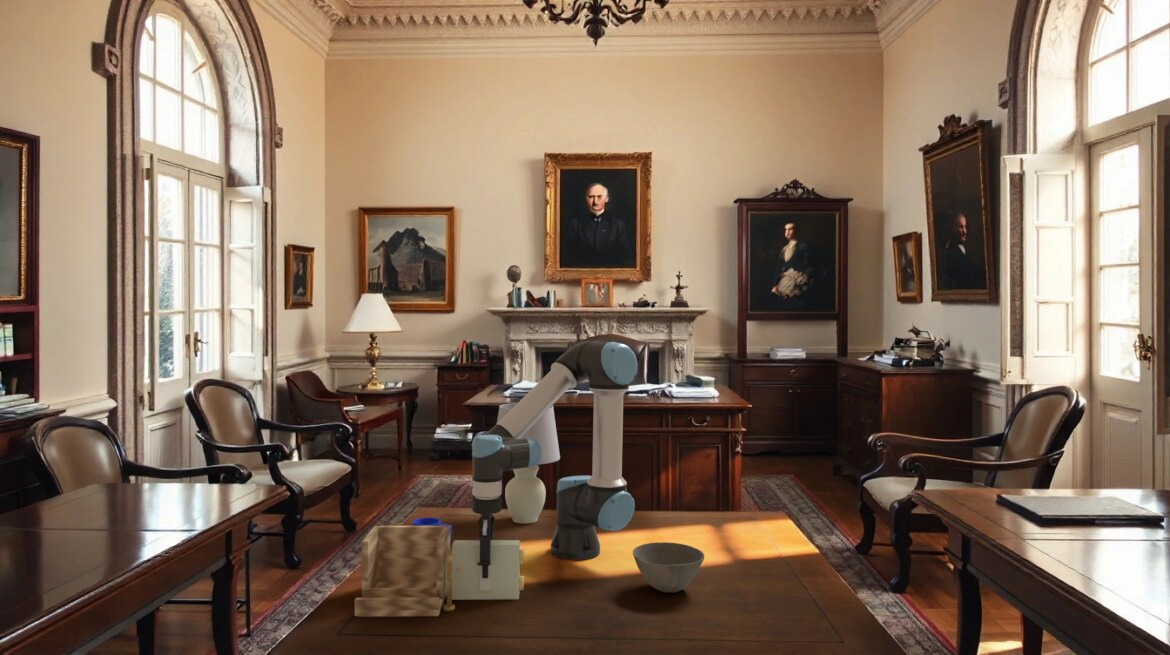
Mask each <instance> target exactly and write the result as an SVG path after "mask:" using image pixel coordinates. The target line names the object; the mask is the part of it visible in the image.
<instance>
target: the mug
mask: <svg viewBox="0 0 1170 655" xmlns="http://www.w3.org/2000/svg"><path fill="white" fill-rule="evenodd" d="M412 526H450V542H451V540H452V531H453V526H452V525H451V524H444V523H441V520H440V518H437V517H420V518H416V519H414V520H412Z"/></svg>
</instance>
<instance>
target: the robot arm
mask: <svg viewBox="0 0 1170 655" xmlns="http://www.w3.org/2000/svg"><path fill="white" fill-rule="evenodd" d="M637 372H638V360H637V356H636V354H635V352H634V351H633V350H632V349H631V348H630V346H628V345H626V344H624V343H620V342H615V341H595V340H586V341H582V342H580V343H576V344H575V345H574V346H572V347H571V348H569V349H568V350H566V351H565V352H564V353H562V354H561V355H560V356H559V357H558V358H557V359H556V360H555V361H554V362H552V363H551V365H550V371H548V373H547V374H546V375H545V376H544V377H542V379H541V380H540V381H539V382H538V383H536V385H535V386H533V387H532V389H530V391H529V392H527V394H526V395H525V396H524V397H522V398H521V399H520V401H518V402H516V403H517V404H516V405H515V406H514V407H513V408H512V409H511V410H510V411H509V412H508V413H507V414H506V415H505V416H504V417H503V418H502V419H501V420H500V421H499V422H498V423H497V422H496V424H495V425H494V426H493V427H492V428H491V429H489V430H488V431H480V432H477V434H475V436H473V439H472V442H471V449H472V452H471V456H472V482H470V484H469V485H470V486H469V487H470V488H471V487H472V490H471V491H472V499H471V511H472V512H473V513H474V514H479V515H481V516H480V517H479V518H478V521H477V522H478V524H477V525H478V536H479V540H480V562H479V563H477V565H480V590H491V562H490V551H491V541H492V540H494V532H495V521H496V520H495V519H496V518H495V517H494V516H495V515H494V514H498V513H500V512H501V511H502V506H503V505H502V502H503V500H502V497H501V495H502V494H503V472H506V471H513V469H520V468H528V467H532V466H535V465H537V464H538V463H539V462H540V460H541V457H542V455H541V454H542V453H541V452H542V450H541V446H540V444H539V442H538V441H537V440H535V439H533V438H532V439H527V438H525V439H519V438H520V437H521V436H522V435H523V434H524V433H525V432H526V431H527V430H528V429H529V428H530V427H531V426H532V425H533V424H534V423H535V422H536V421H537V420H538V419H539V418H540V417H541V416H542V415H543V414H544V413H545V412H546V411H547V410H548V409H549V408H550V407H551V406H554V404H555V403H556V402H557V401H558V400H559V399H560V398H561V397H562V396H563V395H564V394H565V393H566V392H567V391H569V389H575V388H576V386H578V385H579V384H580V383H581V382H584V381H588V390H590V392H592V394H593V413H592V414H593V418H592V419H593V422H592V426H593V428H592V470H591V471H592V475H571V476H567V477H566V476H565V477H562V478H560V479H559V480H557V485H556V493H555V494H556V528H555V530H554V533H553V536H552V539H551V543H550V551H549V552H550V554H551V555H552V556H554V557H556V558H558V559H559V558H560V559H562V560H563V559H565V560H573V561H574V560H575V561H576V560H577V561H578V560H587V559H589V560H590V559H592V558H594V557H595V558H596V557H598V556H599V555H600V553H601V544H600V540H599V537H598V533H597V530H596V528H599V529H602V530H603V531H610V532H611V531H612V532H617V531H620V530H622V529H624V528H626V527H627V525H628V524H629V522H630V521H631V519H632V518H633V516H634V513H635V508H636V506H635V504H636V503H635V499H634V497H632V495H631V493H630V492H628V491H627V490H628V489H627V486H628V484H627V483H628V482H627V481H626V479H624V477H623V476H622V474H623V435H624V434H623V433H624V432H623V429H624V395H625V394H626V392H628V390H629V389H630V387H629V386H630V383H631V382H633V381H634V380H635V377H636V376H637ZM538 465H539V464H538ZM595 527H596V528H595Z"/></svg>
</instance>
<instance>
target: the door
mask: <svg viewBox="0 0 1170 655" xmlns="http://www.w3.org/2000/svg"><path fill="white" fill-rule="evenodd" d="M451 544H452V545H451V546H452V547H451V548H452V601H453V600H456V601H457V600H463V601H464V600H519V599H520V591H523V590H524V589H525V576H524V575H521V574H520V564H524V563H525V549H524V548H521V540H515V539H514V540H513V539H511V540H510V539H509V540H506V539H503V540H501V539H497V540H495V539H493V540H492V541H491V551H490V562H491V590H480V565H477V563H479V562H480V539H476V540H473V539H472V540H470V539H468V540H466V539H465V540H463V539H462V540H461V539H460V540H459V539H457V540H455V539H454V540H453V543H451Z"/></svg>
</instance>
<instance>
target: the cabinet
mask: <svg viewBox="0 0 1170 655" xmlns="http://www.w3.org/2000/svg"><path fill="white" fill-rule="evenodd" d="M445 600H446V603H445V604H444V602H445ZM442 608H443V611H444V612H453V611H455V610H456V605H455V604H453V600H452V547H451V541H450V526H413V525H374V526H373V527H372V529H370V531H369V532H368V533H367V534H366V536H365V537H364V539H362V541H361V597H356V598H355V599H354V617H355V616H357V617H439V615H440V614H441V611H442Z"/></svg>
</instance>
